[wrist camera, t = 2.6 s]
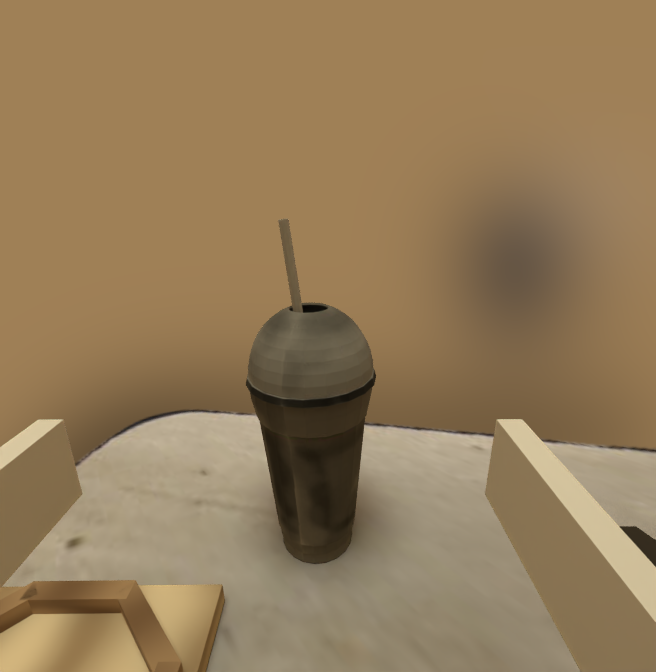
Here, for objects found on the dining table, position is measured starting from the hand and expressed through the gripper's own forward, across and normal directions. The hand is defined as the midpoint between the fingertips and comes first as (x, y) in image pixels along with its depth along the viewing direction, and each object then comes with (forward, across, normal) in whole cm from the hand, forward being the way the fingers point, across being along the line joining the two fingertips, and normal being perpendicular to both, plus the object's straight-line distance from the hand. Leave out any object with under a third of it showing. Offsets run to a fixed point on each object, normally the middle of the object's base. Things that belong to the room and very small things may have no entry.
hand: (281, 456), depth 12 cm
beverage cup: (+10, +1, -13) cm, 17 cm away
